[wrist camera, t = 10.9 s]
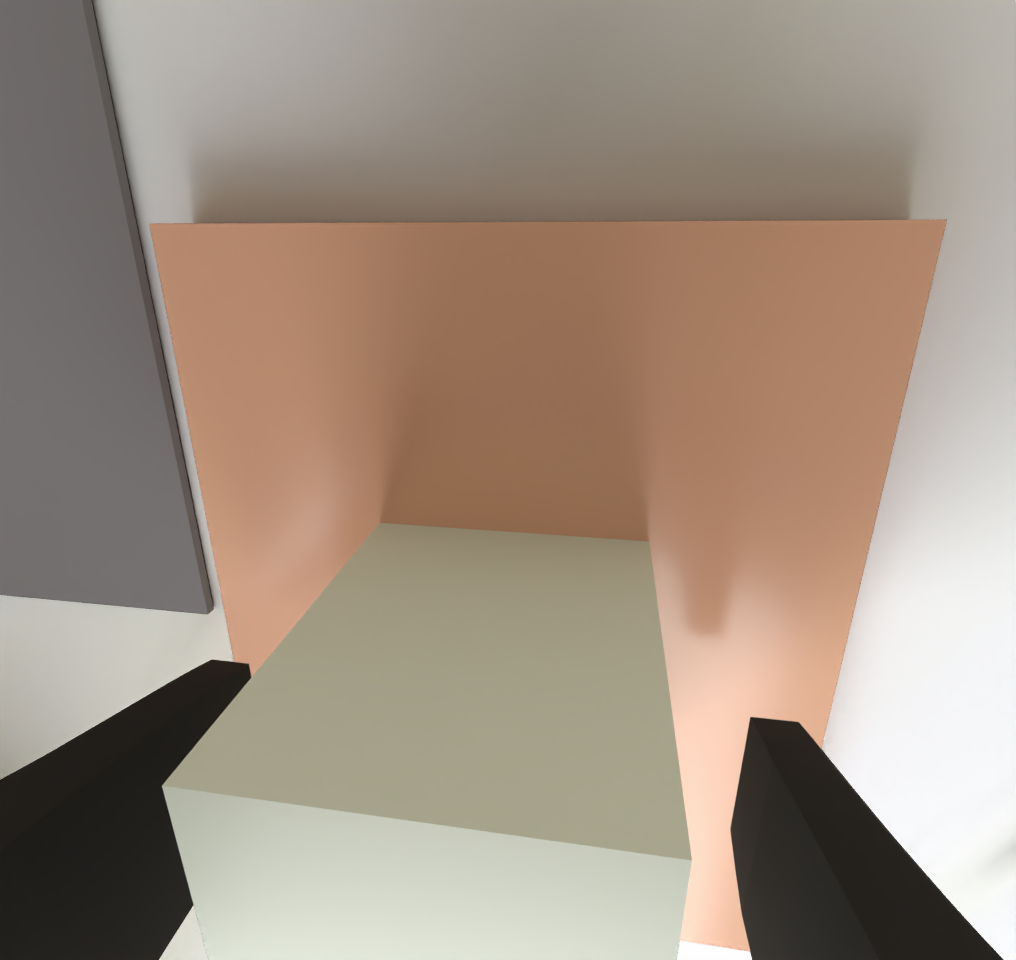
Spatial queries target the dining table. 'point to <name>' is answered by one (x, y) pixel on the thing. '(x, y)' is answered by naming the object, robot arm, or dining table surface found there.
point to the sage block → (448, 764)
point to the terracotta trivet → (567, 432)
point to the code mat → (80, 342)
